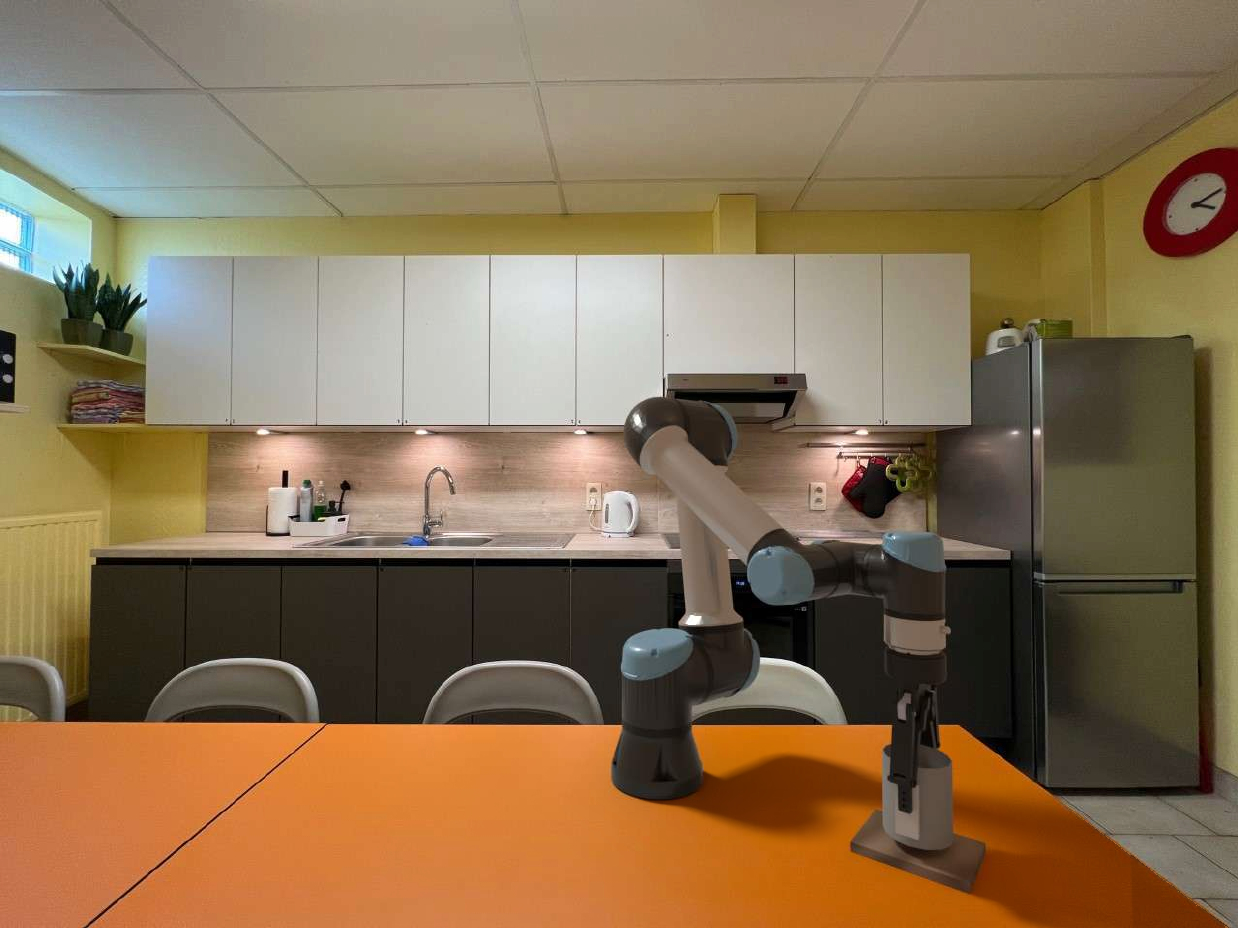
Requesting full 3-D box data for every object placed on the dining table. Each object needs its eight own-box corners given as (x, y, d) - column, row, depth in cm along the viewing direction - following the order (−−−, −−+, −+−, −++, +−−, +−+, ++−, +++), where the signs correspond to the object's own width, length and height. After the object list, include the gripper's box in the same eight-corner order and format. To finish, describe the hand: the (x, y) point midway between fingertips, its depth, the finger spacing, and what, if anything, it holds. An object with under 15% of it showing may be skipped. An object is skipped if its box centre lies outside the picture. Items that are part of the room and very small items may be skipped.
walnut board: (850, 850, 83) (850, 841, 83) (875, 817, 92) (875, 808, 92) (969, 893, 74) (969, 883, 74) (985, 852, 83) (985, 842, 83)
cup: (961, 853, 78) (960, 771, 79) (891, 845, 80) (890, 765, 80) (941, 819, 87) (940, 745, 87) (877, 812, 88) (877, 739, 89)
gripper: (925, 670, 73) (928, 868, 73) (962, 637, 90) (964, 797, 89) (859, 659, 78) (861, 845, 77) (906, 629, 95) (908, 782, 94)
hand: (917, 819), depth 83 cm, fingers open, 9 cm apart
